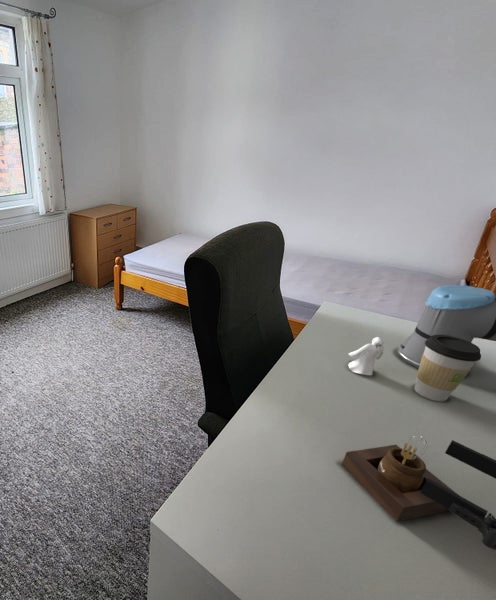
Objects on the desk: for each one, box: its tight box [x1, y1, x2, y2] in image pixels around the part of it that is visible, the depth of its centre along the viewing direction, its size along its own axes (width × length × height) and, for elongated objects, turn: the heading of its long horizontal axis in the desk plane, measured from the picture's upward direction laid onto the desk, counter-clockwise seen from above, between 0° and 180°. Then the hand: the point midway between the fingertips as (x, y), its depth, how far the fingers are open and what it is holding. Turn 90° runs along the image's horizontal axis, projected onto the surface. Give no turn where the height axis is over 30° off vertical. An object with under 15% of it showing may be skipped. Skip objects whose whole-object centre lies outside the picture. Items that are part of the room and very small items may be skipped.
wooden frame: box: [341, 444, 458, 522], centre depth 62 cm, size 11×11×4 cm
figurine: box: [347, 336, 385, 376], centre depth 94 cm, size 8×8×12 cm
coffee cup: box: [414, 335, 482, 402], centre depth 84 cm, size 10×10×15 cm
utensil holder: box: [377, 435, 428, 493], centre depth 61 cm, size 6×6×12 cm
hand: (436, 464), depth 57 cm, fingers open, 13 cm apart
